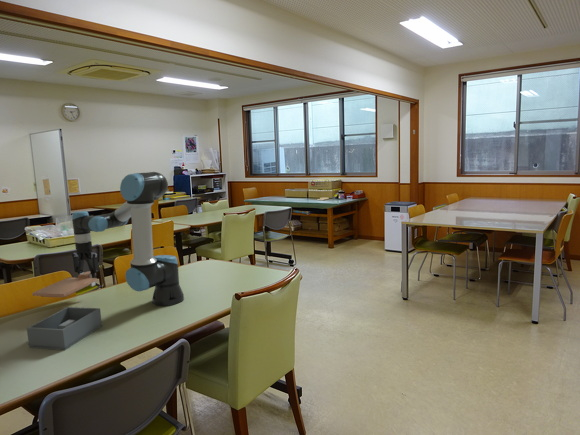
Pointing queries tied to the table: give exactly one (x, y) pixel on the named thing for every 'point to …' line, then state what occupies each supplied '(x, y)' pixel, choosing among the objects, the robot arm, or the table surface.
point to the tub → (64, 328)
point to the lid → (66, 286)
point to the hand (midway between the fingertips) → (88, 285)
